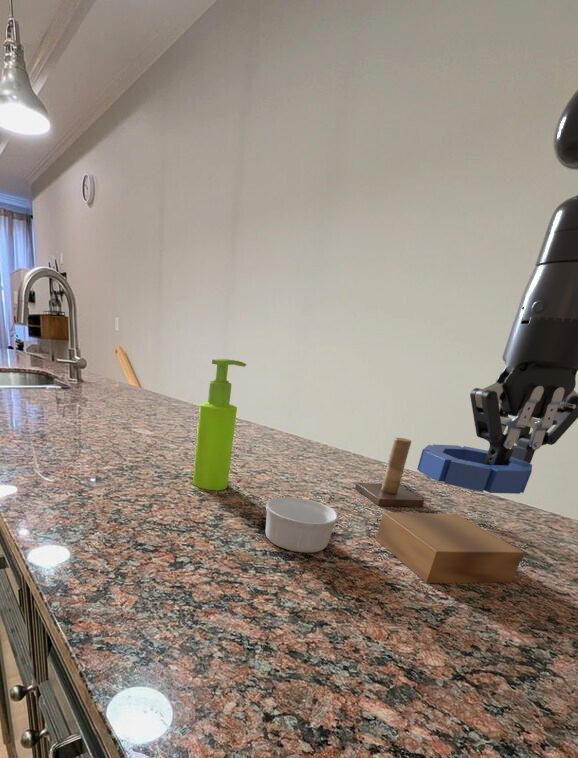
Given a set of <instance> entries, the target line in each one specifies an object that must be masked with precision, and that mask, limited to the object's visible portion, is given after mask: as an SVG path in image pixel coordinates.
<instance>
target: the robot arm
mask: <svg viewBox="0 0 578 758" xmlns="http://www.w3.org/2000/svg"><path fill="white" fill-rule="evenodd" d="M552 144H553V152H554V153H553V154H554V156H555V159H556V161H557V162H558V164H560V166H562V167H564V168H565V169H568V170H570V171H578V89H576V91H575V92H574V93H573V94H572V96H571V97H570V99H569V101H568V102H567V103H566V105H565V106H564V109H563V111H562V112H561V115H560V116H559V119H558V121H557V124H556V127H555V130H554V134H553V143H552ZM502 360H503V362H504V367H503V369H502V371H501V372H500V373H499V375H498V376H497V377H496V379H495V383H492V384H491V385H488V386H486V387H484V388H480V387H475V388H473V389H472V390H471V391H470V393H469V397H470V404H471V410H472V415H473V421H474V422H473V423H474V427H475V435H476V437H478V438H480V439H483V440H485V441H487V442H488V443H489V448H488V450H487V451H488V453H487V456H486V459H485V463H484V464H486V465H503V466H507V465H508V462H509V460H510V458H511V457H514V458H517V459H520V460H523V461H525V462H528V463H529V464H532V461H533V458H534V455H535V452H536V451H537V450H539V449H540V448H541V447H542V446H546V445H550V446H552V445H555V444H556V443H557V442H558V440H559V439H561V437H562V436H563V435H564V434H565V433H566V432H567V431H568V429H569V428H570V427H572V425H573V424H574V423H575V422H576V421H577V420H578V392H577V391H576V390H575V389H576V385H577V381H576V377H577V372H578V194H577V195H575V196H572V197H570V198H567V199H565V200H564V201H563V202H561V203H559V205H557V206H556V208H555V210H554V211H553V213H552V215H551V216H550V219H549V222H548V225H547V228H546V230H545V234H544V237H543V239H542V243H541V246H540V249H539V252H538V255H537V258H536V261H535V264H534V268H533V270H532V273H531V275H530V277H529V279H528V282H527V283H526V286H525V288H524V290H523V293H522V295H521V298H520V301H519V305H518V307H517V311H516V314H515V317H514V320H513V322H512V326H511V328H510V332H509V336H508V337H507V341H506V344H505V348H504V350H503V354H502ZM509 416H511V417H509ZM513 417H514V418H513ZM552 426H553V427H552ZM506 428H507V429H506ZM551 428H552V429H551ZM531 429H532V431H531ZM550 429H551V430H550ZM549 430H550V431H549ZM530 431H531V432H530ZM548 431H549V432H548ZM504 433H505V434H504Z"/></svg>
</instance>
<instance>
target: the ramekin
mask: <svg viewBox="0 0 578 758" xmlns="http://www.w3.org/2000/svg"><path fill="white" fill-rule="evenodd" d="M265 509H266V517H265V529H264V530H265V536H266V538H267V540H269V541H270V542H271V543H272V544H273V545H275V546H277V547H279V548H282V549H284V550H287V551H291V552H295V553H304V554H305V553H307V554H310V553H311V554H313V553H318V552H321V551H323V550H325V549H326V548H327V547H328V545H329V542H330V539H331V537H332V533H333V529H334V527H335V524H336V523H337V521H338V519H339V515H338V513H337V512H336V511H335V510H334V509H333V508H332V507H330V506H328V505H326V504H325V503H324V504H323V503H322V502H319V501H315V500H312V499H308V498H303V497H295V496H280V497H273V498H271V499H269V500H268V501H267V502H266V504H265Z"/></svg>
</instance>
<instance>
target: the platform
mask: <svg viewBox="0 0 578 758" xmlns="http://www.w3.org/2000/svg"><path fill="white" fill-rule="evenodd" d="M375 540H376V541H377V542H378V543H379V544H381V545H382V546H383V547H384V548H385V549H386V550H387V551H389V552H390V553H391V554H392V555H393V556H394V557H396V558H397V560H399V561H400V562H401V563H402V564H404V566H406V567H407V568H408V569H409V570H411V571H412V572H413V573H415V575H417V576H418V578H420V579H421V580H422V581H424V582H425V584H511V583H512V582H513V580H514V578H515V576H516V573H517V571H518V568H519V565H520V564H521V561H522V558H523V556H524V554H525V552H524V551H523V550H521V549H519V548H518V547H516V546H514V545H512V544H510V543H509V542H507V541H505V540H503V539H501V538H499V537H498V536H496V535H495V534H493V533H491V532H489V531H488V530H486V529H485V528H482V527H480V526H479V525H477V524H476V523H474V522H472V521H471V520H469V519H466V518H465V517H463V516H462V515H460V514H457V513H430V512H429V513H426V512H425V513H423V512H392V511H389V512H387V511H383V512H382V516H381V519H380V522H379V526H378V530H377V534H376V537H375Z"/></svg>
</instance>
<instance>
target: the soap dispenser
mask: <svg viewBox="0 0 578 758" xmlns="http://www.w3.org/2000/svg"><path fill="white" fill-rule="evenodd" d="M211 364H212V365H215V366H216V372H215V379H213V380H210V381H209V386H208V398H207V401H205V402H200V403H199V407H198V409H199V410H198V418H197V431H196V443H195V452H194V453H195V454H194V464H193V475H192V485H194V486H195V487H196V488H199V489H203V490H207V491H208V490H209V491H221V490H225V489H227V488H228V484H229V478H230V477H229V476H230V469H231V461H232V452H233V445H234V444H233V443H234V436H235V428H236V420H237V411H238V407H237V406H235V405H234V404H231V403H230V402H231V394H232V386H233V385H232V383H231V382H230V380H228V370H229V366H233V365H234V366H238V367H243V368H245V367H246V366H247V363H245V362H242V361H239V360H235V359H229V358H218V359H217V358H216V359H212V360H211Z"/></svg>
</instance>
